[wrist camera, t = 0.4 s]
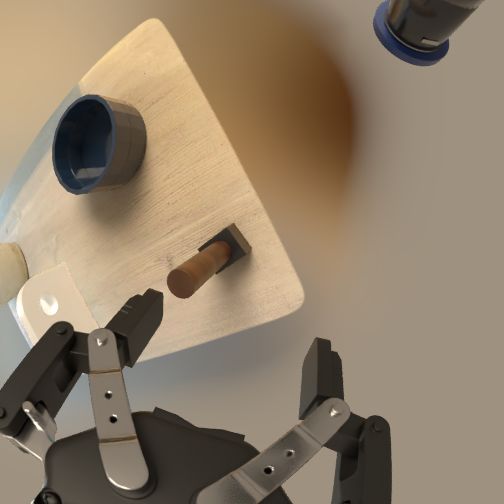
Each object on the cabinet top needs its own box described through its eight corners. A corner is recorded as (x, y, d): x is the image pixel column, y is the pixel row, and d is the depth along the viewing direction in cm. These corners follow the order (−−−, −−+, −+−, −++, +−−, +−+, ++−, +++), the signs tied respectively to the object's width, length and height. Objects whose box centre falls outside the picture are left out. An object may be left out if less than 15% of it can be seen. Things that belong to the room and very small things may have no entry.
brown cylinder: (233, 222, 36) (185, 250, 23) (252, 247, 36) (214, 289, 23) (206, 243, 38) (150, 279, 25) (223, 267, 38) (176, 314, 25)
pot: (120, 85, 34) (91, 75, 28) (163, 145, 35) (133, 142, 29) (72, 146, 39) (43, 146, 33) (106, 207, 40) (76, 214, 34)
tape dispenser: (107, 340, 49) (62, 377, 35) (81, 349, 52) (42, 381, 39) (64, 262, 46) (11, 285, 33) (44, 281, 50) (-1, 303, 37)
